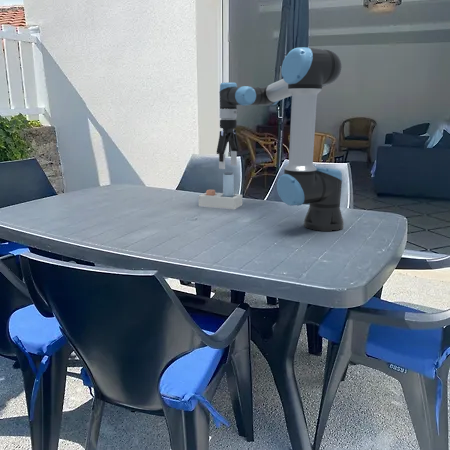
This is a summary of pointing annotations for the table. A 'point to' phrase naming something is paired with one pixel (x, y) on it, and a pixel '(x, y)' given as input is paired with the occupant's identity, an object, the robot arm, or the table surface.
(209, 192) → the plunger
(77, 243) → the table surface
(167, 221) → the table surface
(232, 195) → the cartridge
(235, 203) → the housing
